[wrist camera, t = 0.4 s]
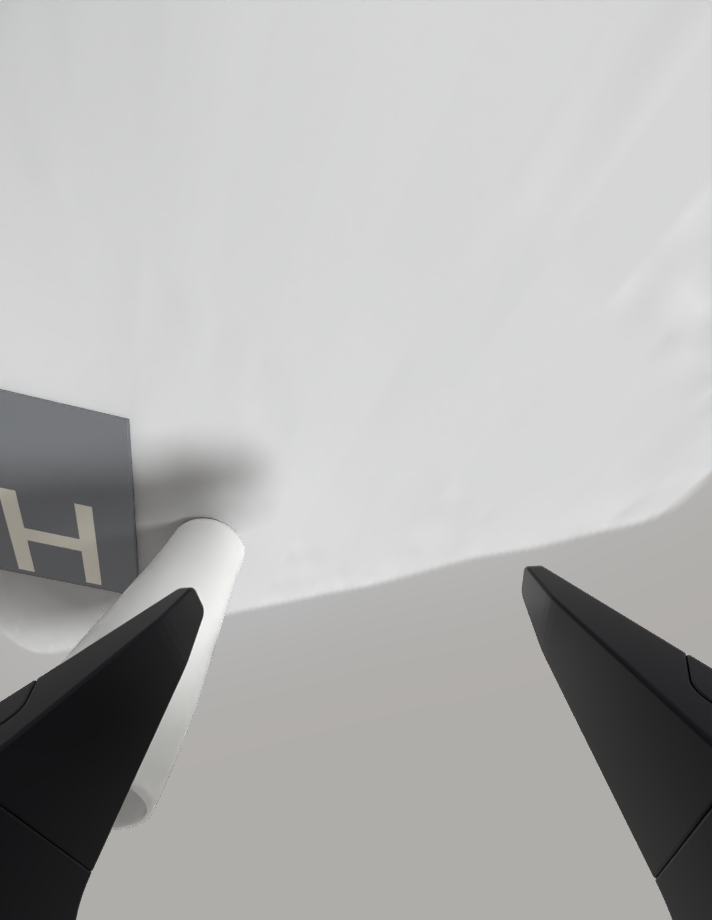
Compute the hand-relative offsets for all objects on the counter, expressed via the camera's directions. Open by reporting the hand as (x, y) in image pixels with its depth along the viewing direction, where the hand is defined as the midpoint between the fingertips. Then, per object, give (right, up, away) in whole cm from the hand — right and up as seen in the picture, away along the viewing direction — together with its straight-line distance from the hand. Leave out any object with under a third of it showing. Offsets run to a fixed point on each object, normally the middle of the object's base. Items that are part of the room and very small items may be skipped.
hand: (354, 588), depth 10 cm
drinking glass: (-11, -3, +18) cm, 21 cm away
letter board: (-22, +1, +17) cm, 27 cm away
